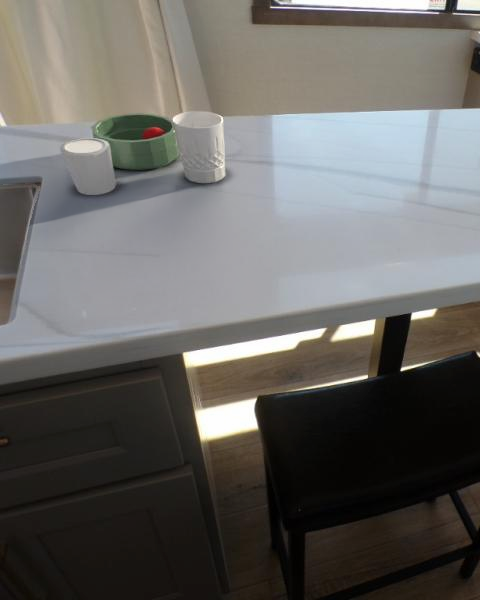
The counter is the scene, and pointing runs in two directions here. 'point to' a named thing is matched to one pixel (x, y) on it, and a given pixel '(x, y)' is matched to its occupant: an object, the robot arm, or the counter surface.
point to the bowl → (137, 140)
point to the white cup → (201, 145)
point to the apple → (152, 133)
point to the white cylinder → (90, 165)
